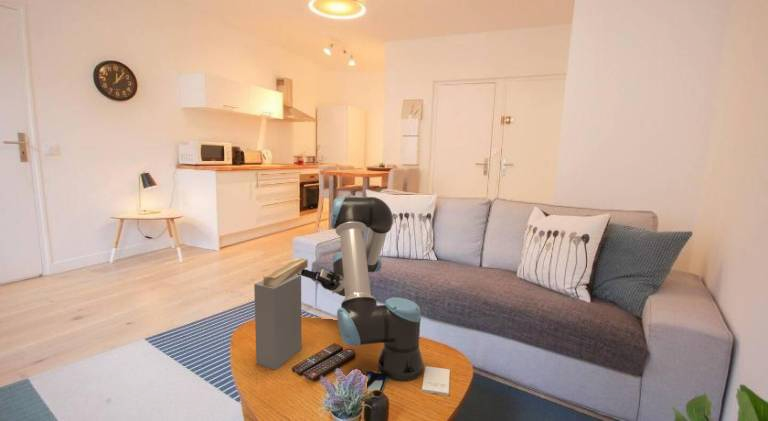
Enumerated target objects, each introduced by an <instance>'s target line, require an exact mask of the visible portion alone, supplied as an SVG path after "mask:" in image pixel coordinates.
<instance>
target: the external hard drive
mask: <svg viewBox="0 0 768 421" xmlns="http://www.w3.org/2000/svg"><path fill="white" fill-rule="evenodd" d="M423 372H424V374H423V379H422V386H421V393H426V394H437V395H440V396H447V397H449V396H450V378H451V376H450V374H451V370H450V369H449V368H441V367H434V366H429V365H428V366H427V365H426V366H424V371H423Z"/></svg>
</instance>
